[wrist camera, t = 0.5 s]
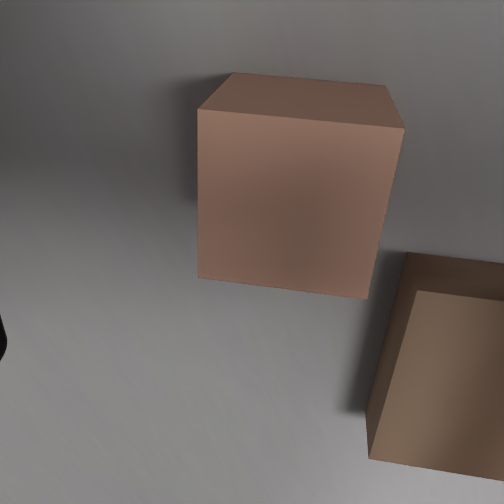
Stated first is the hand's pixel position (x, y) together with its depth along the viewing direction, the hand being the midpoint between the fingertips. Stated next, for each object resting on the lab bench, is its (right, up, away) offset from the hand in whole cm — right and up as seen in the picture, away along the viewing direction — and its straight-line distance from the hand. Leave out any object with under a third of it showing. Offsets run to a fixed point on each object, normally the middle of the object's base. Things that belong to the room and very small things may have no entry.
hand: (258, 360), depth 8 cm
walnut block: (+10, -3, +13) cm, 17 cm away
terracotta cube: (+2, +5, +9) cm, 11 cm away
